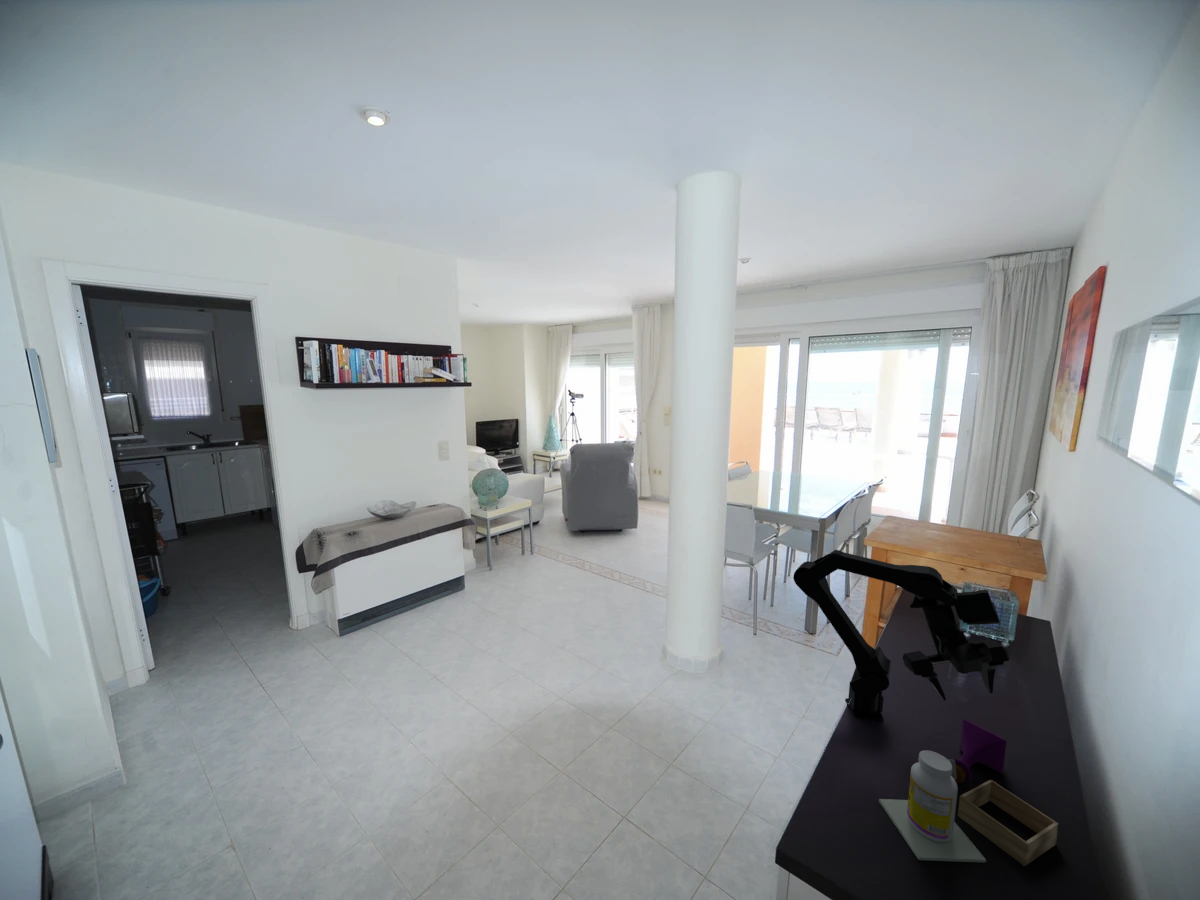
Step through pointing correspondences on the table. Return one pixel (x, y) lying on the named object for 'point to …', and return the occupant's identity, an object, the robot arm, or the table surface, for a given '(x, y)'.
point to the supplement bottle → (932, 797)
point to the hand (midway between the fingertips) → (967, 696)
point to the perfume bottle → (977, 751)
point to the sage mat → (925, 847)
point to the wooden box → (998, 832)
